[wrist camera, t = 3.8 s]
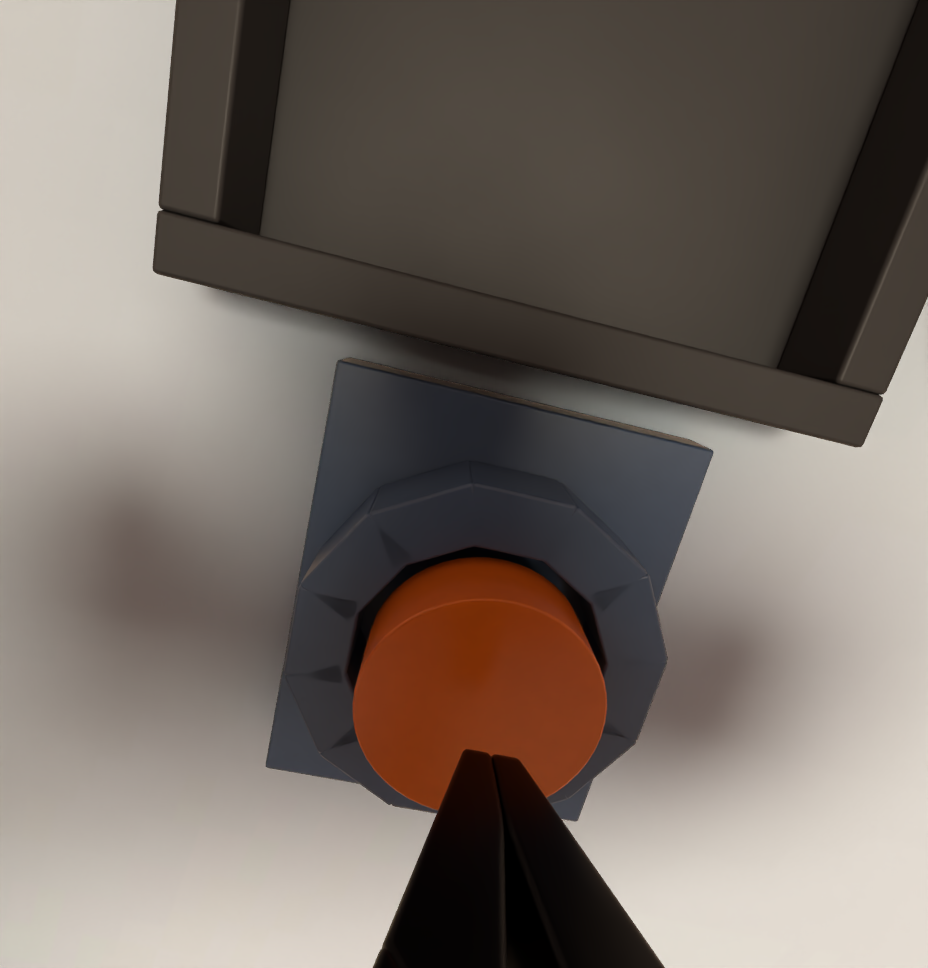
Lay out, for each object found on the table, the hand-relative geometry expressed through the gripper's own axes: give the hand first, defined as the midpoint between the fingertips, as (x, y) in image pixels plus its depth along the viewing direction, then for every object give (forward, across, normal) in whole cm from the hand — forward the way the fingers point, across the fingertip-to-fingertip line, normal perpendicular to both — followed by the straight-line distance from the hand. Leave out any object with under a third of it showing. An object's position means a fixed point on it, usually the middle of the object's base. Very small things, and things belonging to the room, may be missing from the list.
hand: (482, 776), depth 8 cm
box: (+6, 0, 0) cm, 6 cm away
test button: (+3, 0, 0) cm, 3 cm away
